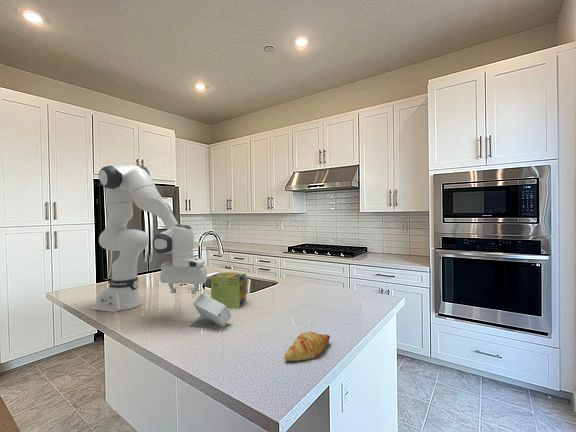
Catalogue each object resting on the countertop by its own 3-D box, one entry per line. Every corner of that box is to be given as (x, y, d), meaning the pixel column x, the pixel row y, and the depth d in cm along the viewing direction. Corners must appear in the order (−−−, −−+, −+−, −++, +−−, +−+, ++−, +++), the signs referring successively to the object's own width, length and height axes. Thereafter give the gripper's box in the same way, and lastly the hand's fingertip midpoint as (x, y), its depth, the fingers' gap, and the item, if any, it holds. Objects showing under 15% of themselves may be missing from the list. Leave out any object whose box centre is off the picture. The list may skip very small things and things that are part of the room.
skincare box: (207, 303, 136) (232, 316, 128) (198, 314, 132) (223, 327, 125) (201, 292, 130) (227, 304, 123) (191, 303, 127) (217, 316, 119)
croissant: (291, 377, 94) (299, 359, 91) (272, 352, 100) (279, 335, 97) (333, 353, 108) (342, 337, 105) (315, 332, 114) (322, 317, 111)
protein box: (239, 308, 148) (239, 277, 147) (210, 306, 151) (210, 275, 150) (247, 301, 158) (246, 272, 157) (219, 300, 161) (219, 271, 161)
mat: (189, 326, 125) (189, 326, 125) (202, 314, 139) (202, 314, 139) (210, 327, 124) (210, 326, 124) (221, 315, 138) (221, 314, 138)
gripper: (156, 262, 129) (157, 294, 129) (202, 263, 126) (202, 296, 127) (164, 260, 135) (165, 290, 136) (208, 260, 133) (208, 292, 133)
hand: (183, 293), depth 131 cm, fingers open, 8 cm apart
